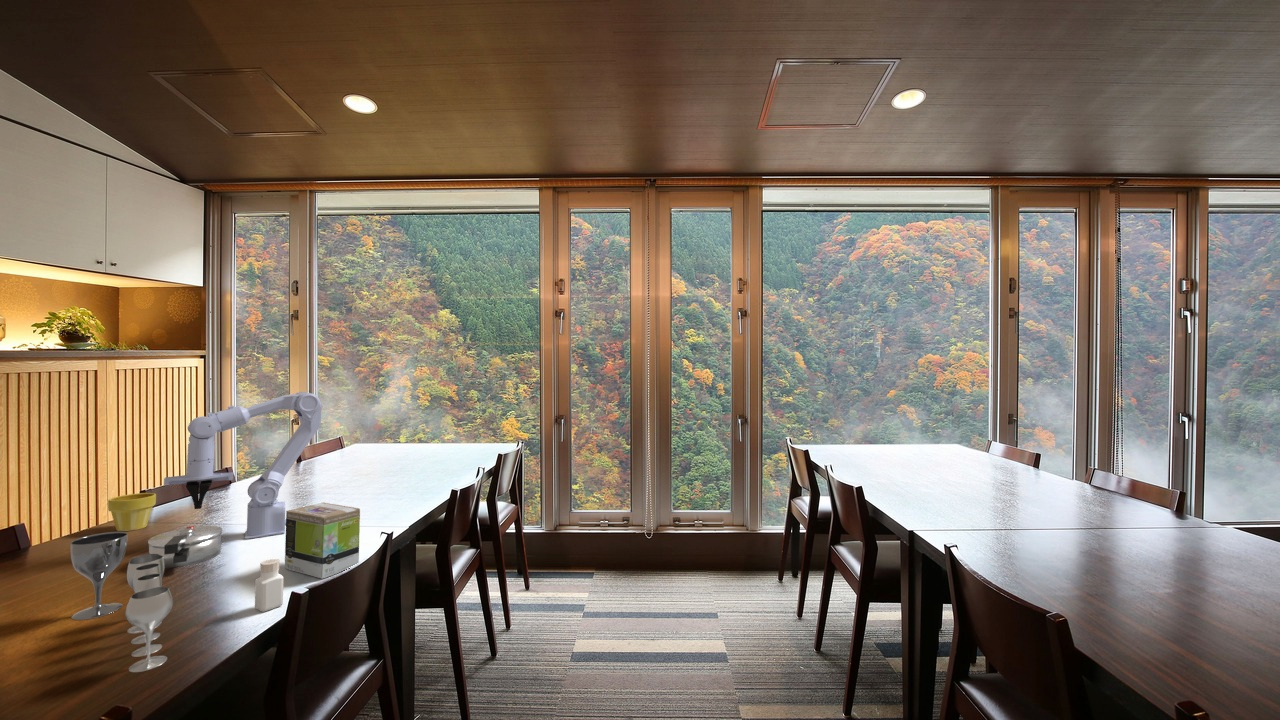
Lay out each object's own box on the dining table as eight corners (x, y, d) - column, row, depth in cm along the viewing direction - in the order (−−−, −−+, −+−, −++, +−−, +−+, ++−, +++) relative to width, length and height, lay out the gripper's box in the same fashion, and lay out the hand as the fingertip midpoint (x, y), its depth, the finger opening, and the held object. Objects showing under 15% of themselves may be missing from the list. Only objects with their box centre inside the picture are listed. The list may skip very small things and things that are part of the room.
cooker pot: (153, 555, 133) (154, 536, 133) (222, 544, 141) (222, 526, 142) (139, 581, 117) (139, 559, 117) (217, 567, 126) (217, 547, 126)
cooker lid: (158, 533, 134) (159, 525, 134) (227, 526, 142) (227, 518, 142) (129, 559, 117) (130, 549, 117) (209, 548, 124) (209, 539, 124)
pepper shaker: (262, 613, 103) (263, 566, 103) (253, 608, 105) (254, 562, 105) (284, 605, 106) (285, 560, 106) (275, 601, 108) (276, 556, 108)
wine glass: (136, 603, 106) (138, 532, 107) (92, 622, 98) (94, 545, 99) (103, 601, 107) (105, 530, 107) (56, 619, 99) (58, 543, 99)
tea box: (360, 565, 128) (361, 507, 128) (321, 580, 119) (322, 518, 119) (322, 555, 134) (324, 500, 134) (282, 569, 125) (284, 509, 125)
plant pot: (128, 523, 159) (129, 492, 159) (164, 522, 160) (165, 492, 161) (97, 534, 149) (98, 501, 149) (135, 533, 150) (136, 500, 150)
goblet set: (122, 618, 100) (124, 551, 101) (162, 608, 104) (164, 544, 105) (124, 679, 81) (126, 596, 81) (172, 664, 85) (174, 585, 85)
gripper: (234, 455, 149) (232, 501, 148) (167, 459, 140) (164, 508, 139) (233, 459, 143) (230, 507, 143) (163, 463, 134) (160, 514, 134)
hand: (198, 508), depth 141 cm, fingers closed
